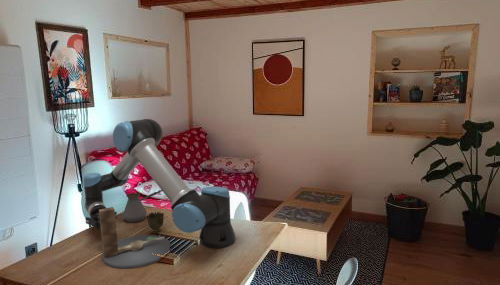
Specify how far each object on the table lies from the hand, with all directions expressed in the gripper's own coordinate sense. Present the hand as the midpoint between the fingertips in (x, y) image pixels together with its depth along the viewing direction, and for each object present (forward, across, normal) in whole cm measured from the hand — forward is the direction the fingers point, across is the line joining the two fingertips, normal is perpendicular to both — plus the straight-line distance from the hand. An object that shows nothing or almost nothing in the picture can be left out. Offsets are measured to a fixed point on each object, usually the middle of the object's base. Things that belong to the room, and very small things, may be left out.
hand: (108, 229), depth 140 cm
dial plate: (+5, -9, -10) cm, 14 cm away
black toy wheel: (-11, -22, -10) cm, 27 cm away
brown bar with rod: (+5, -8, -8) cm, 13 cm away
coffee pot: (-29, -22, -10) cm, 38 cm away
